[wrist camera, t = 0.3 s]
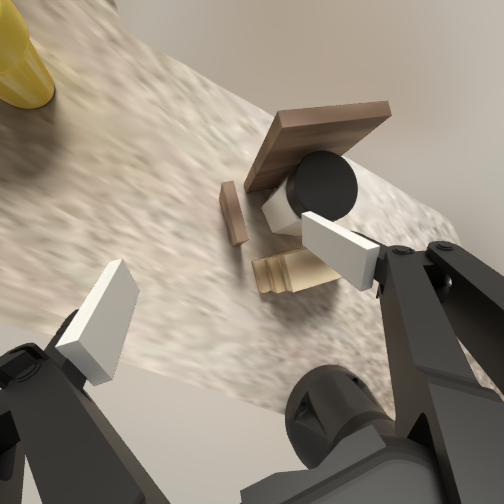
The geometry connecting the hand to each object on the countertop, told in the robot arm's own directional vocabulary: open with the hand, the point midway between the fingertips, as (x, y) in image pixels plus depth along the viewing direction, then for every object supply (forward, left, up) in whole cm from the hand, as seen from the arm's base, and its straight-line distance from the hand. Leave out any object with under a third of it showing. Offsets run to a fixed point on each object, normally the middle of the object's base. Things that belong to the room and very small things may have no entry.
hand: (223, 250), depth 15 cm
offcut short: (-5, -13, -12) cm, 19 cm away
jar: (+5, -14, -17) cm, 22 cm away
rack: (+6, -11, -17) cm, 21 cm away
